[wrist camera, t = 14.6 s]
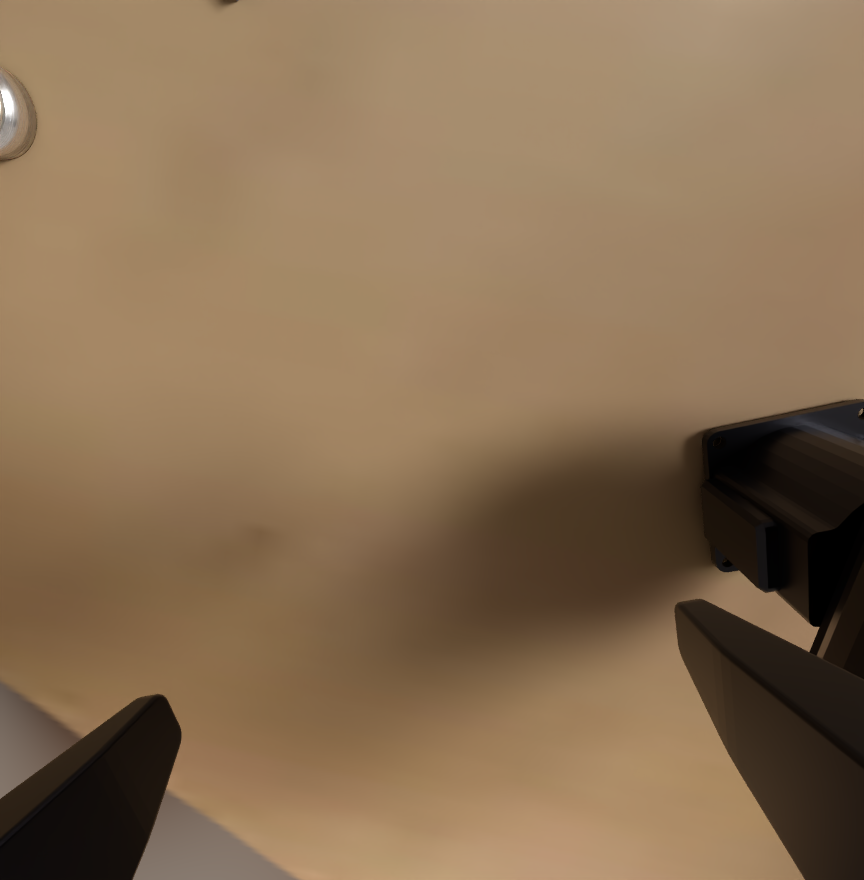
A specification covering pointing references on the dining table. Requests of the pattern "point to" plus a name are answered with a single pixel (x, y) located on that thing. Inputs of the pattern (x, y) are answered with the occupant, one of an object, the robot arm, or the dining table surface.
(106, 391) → the dining table surface
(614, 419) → the dining table surface
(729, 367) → the dining table surface
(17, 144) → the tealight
